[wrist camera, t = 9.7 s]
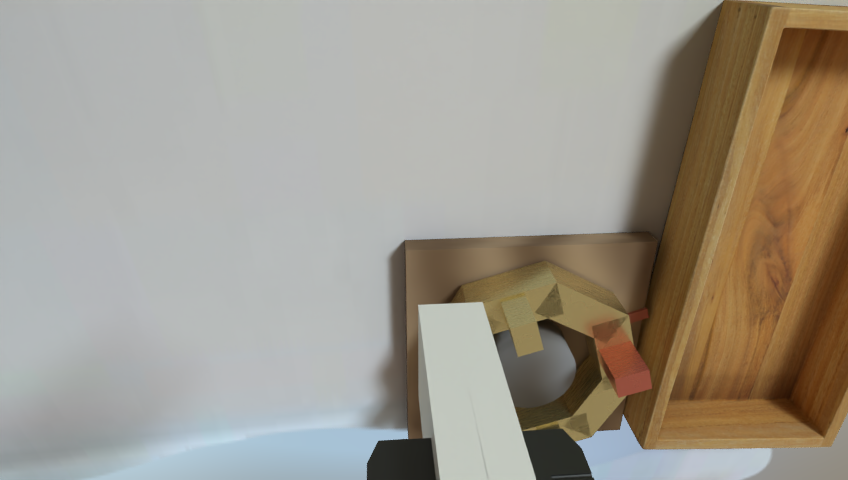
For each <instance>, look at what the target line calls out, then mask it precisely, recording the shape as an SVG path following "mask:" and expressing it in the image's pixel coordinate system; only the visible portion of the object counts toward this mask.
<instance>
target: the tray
mask: <svg viewBox="0 0 848 480" xmlns="http://www.w3.org/2000/svg"><path fill="white" fill-rule="evenodd" d="M645 308H647V310H648V316H649V318H646V319H643V320H642V323H641V327H640V332H639V337H638V342H637V347H636V350H637V351H638V353H639V354H640V356H641V358H642V359H643V361H644V362H645V364H646V365H647V367H648V369H649V371H650V378H651V384H652V389H649V390H645V391H641V392H638V393H634V394H631V395H627V396H626V401H625V406H624V411H623V415H624V416H625V418H626V420H627V422H628V424H629V426H630V428H631V430H632V431H633V433H634V435H635V437H636V439H637V441H638V442H639V444H640V445H641V447H642V448H643V449H732V448H796V447H831V446H832V444H833V441H834V440H835V438H836V436H837V434H838V432H839V430H840V427H841V425H842V423H843V421H844V419H845V417H846V415H847V413H848V7H847V6H830V5H812V4H794V3H777V2H760V1H742V0H724V2H723V5H722V8H721V12H720V16H719V20H718V23H717V27H716V31H715V35H714V39H713V42H712V46H711V50H710V54H709V58H708V62H707V65H706V69H705V73H704V77H703V81H702V85H701V89H700V93H699V97H698V101H697V105H696V109H695V113H694V116H693V120H692V124H691V128H690V132H689V135H688V139H687V143H686V147H685V151H684V155H683V159H682V163H681V167H680V171H679V174H678V178H677V182H676V186H675V190H674V194H673V197H672V201H671V205H670V209H669V213H668V217H667V221H666V224H665V228H664V232H663V236H662V240H661V244H660V248H659V252H658V256H657V260H656V264H655V268H654V272H653V276H652V279H651V283H650V287H649V291H648V295H647V299H646V303H645Z"/></svg>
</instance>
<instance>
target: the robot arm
mask: <svg viewBox="0 0 848 480" xmlns="http://www.w3.org/2000/svg"><path fill="white" fill-rule="evenodd" d="M418 391H419V406H420V416H421V426H422V435H423V438H418V439H401V440H384V441H378V443H377V445H376V447H375V449H374V451H373V453H372V455H371V457H370V459H369V461H368V463H367V480H594V478H592V475H591V470H590V468H589V466H588V463H587V461H586V458H585V456H584V453H583V451H582V449H581V448H580V446H579V445H578V444H577V443H576V442H575V441H574V440H573V439H572V438H571V437H570V436H569V435H568V434H567V433H566V432H565V431H564V430H563V429H546V430H529V431H521V427H520V424H519V421H518V417H517V414H516V411H515V407H514V404H513V401H512V398H511V394H510V391H509V388H508V384H507V381H506V378H505V374H504V371H503V368H502V364H501V361H500V358H499V355H498V351H497V348H496V345H495V341H494V338H493V335H492V331H491V328H490V325H489V321H488V318H487V315H486V312H485V308H484V305H483V302H473V303H449V304H426V305H418Z"/></svg>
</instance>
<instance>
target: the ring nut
mask: <svg viewBox="0 0 848 480" xmlns="http://www.w3.org/2000/svg"><path fill="white" fill-rule="evenodd" d="M473 302H483V305H484V308H485V312H486V315H487V318H488V321H489V325H490V328H491V331H492V334H495V333H499V332H502V331H506V330H509V333H510V335H511V338H512V341H513V344H514V347H515V350H516V353H517V356H518V357H520V356H524V355H527V354H531V353H534V352H538V351H541V350H544V349H543V345H542V341H541V337H540V333H539V329H538V325H537V321H540V320H544V319H547V318H549V319H551V320H553V321H556V322H558V323H560V324H562V325H565V326H567V327H569V328H572V329H574V330H576V331H579V332H581V333H583V334H585V336H586V341H587V346H588V351H589V355H588V357H587V358H586V359H585V360H584V362H583V363H582V364H581V365H580V367H579V368H578V369H577V370H576V374H575V378H574V380H573V382H572V384H571V386H570V387H569V388H568V390H567V391H566V392H565V393H564V394H563V395H562V396H560V397H559V398H557V399H556V400H554V401H552V402H550V403H548V404H546V405H542V406H539V407H533V408H520V407H515V406H514V407H515V411H516V414H517V417H518V421H519V424H520V427H521V431H529V430H546V429H563V430H564V431H565V432H566V433H567V434H568V435H569V436H570V437H571V438H572V439H573V440H574V441H579V440H583V439H586V438H589V437H592V436H593V435H594V433H595V432H596V431H597V430H598V429H599V428H600V426H601V425H602V424H603V423H604V422H605V421H606V419H607V418H608V417H609V416H610V415H611V414H612V412H613V411H614V410H615V409H616V408H617V407H618V405H619V404H620V403H621V402H622V401H623V399H624V398H625V397H626V396H627V395H631V394H634V393H638V392H641V391H645V390H649V389H652V384H651V378H650V371H649V369H648V367H647V365H646V364H645V362H644V361H643V359H642V358H641V356H640V354H639V353H638V351H637V350H636V348H635V347H634V343H633V337H632V331H631V325H630V319H629V315H628V313H627V312H626V310H625V309H624V307H623V306H622V304H621V303H620V301H619V300H618V299H617V297H616V296H615V294H614V293H613V292H611V291H609V290H607V289H605V288H602V287H600V286H598V285H596V284H594V283H592V282H590V281H588V280H585V279H583V278H581V277H579V276H577V275H575V274H573V273H570V272H568V271H566V270H564V269H562V268H560V267H558V266H555V265H553V264H551V263H549V262H547V261H542V262H539V263H536V264H532V265H529V266H525V267H522V268H519V269H515V270H512V271H508V272H505V273H502V274H498V275H495V276H491V277H488V278H485V279H481V280H478V281H474V282H471V283H468V284H464V285H462V286H461V287H460V289H459V290H458V292H457V293H456V295H455V296H454V298H453V300H452V301H451V303H473Z"/></svg>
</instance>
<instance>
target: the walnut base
mask: <svg viewBox="0 0 848 480" xmlns="http://www.w3.org/2000/svg"><path fill="white" fill-rule="evenodd" d="M657 244H658V241H657V240H656V239H655V238H654V237H653V236H652V235H651V234H650V233H649V232H632V233H603V234H574V235H545V236H516V237H488V238H459V239H430V240H405V291H406V355H407V420H408V439H418V438H423V435H422V426H421V416H420V406H419V391H418V305H426V304H449V303H451V301H452V300H453V298H454V296H455V295H456V293H457V292H458V290H459V289H460V287H461V286H462V285H464V284H468V283H471V282H474V281H478V280H481V279H485V278H488V277H491V276H495V275H498V274H502V273H505V272H508V271H512V270H515V269H519V268H522V267H525V266H529V265H532V264H536V263H539V262H542V261H547V262H549V263H551V264H553V265H555V266H558V267H560V268H562V269H564V270H566V271H568V272H570V273H573V274H575V275H577V276H579V277H581V278H583V279H585V280H588V281H590V282H592V283H594V284H596V285H598V286H600V287H602V288H605V289H607V290H609V291H611V292H613V293H614V294H615V296H616V297H617V299H618V300H619V301H620V303H621V304H622V306H623V307H624V309H625V310H626V312H627V313H628V315H629V319H630V325H631V331H632V337H633V343H634V347H635V348H636V347H637V342H638V337H639V332H640V327H641V323H642V320H643V319H646V318H649V316H648V310H647V308H645V303H646V298H647V293H648V288H649V283H650V278H651V273H652V268H653V263H654V259H655V254H656V249H657ZM537 325H538V329H539V333H540V337H541V341H542V345H543V349H544V350H541V351H538V352H534V353H531V354H527V355H524V356H520V357H518V356H517V353H516V350H515V347H514V344H513V341H512V338H511V335H510V333H509V330H506V331H502V332H499V333H495V334H492V335H493V338H494V341H495V345H496V348H497V351H498V355H499V358H500V361H501V364H502V368H503V371H504V374H505V378H506V381H507V384H508V388H509V391H510V394H511V398H512V401H513V404H514V406H515V407H520V408H533V407H539V406H542V405H546V404H548V403H550V402H552V401H554V400H556V399H557V398H559V397H560V396H562V395H563V394H564V393H565V392H566V391H567V390H568V388H569V387H570V386H571V384H572V382H573V380H574V378H575V374H576V370H577V369H578V368H579V367H580V365H581V364H582V363H583V362H584V360H585V359H586V358H587V357H588V355H589V351H588V346H587V341H586V336H585V334H583V333H581V332H579V331H576V330H574V329H572V328H569V327H567V326H565V325H562V324H560V323H558V322H556V321H553V320H551V319H549V318H547V319H544V320H540V321H537ZM625 401H626V397H625V398H624V399H623V401H622V402H621V403H620V404H619V405H618V407H617V408H616V409H615V410H614V411H613V412H612V414H611V415H610V416H609V417H608V418H607V419H606V421H605V422H604V423H603V424H602V425H601V426H600V428H599V429H598V430H597V431H604V430H620V426H621V421H622V416H623V411H624V406H625Z"/></svg>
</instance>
